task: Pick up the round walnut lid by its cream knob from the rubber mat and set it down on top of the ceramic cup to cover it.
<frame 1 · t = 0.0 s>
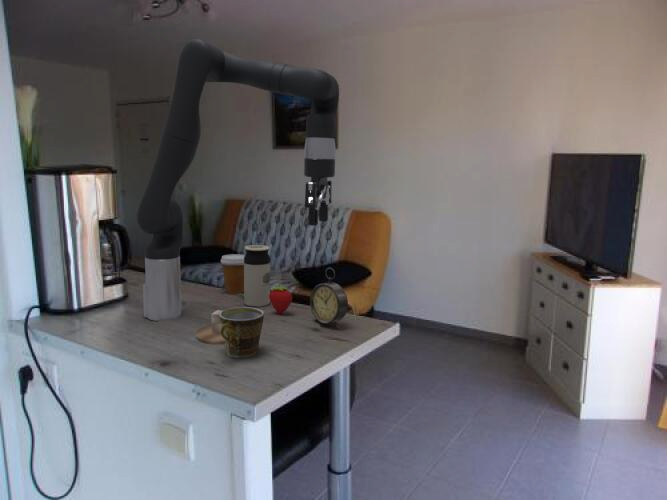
hand: (318, 223, 126), 29 cm above the breakfast bar, tool pointing down, fingers open, 8 cm apart
travel mug: (257, 304, 158), on the breakfast bar
strawberry: (280, 315, 147), on the breakfast bar
disposable coffee cup: (235, 291, 172), on the breakfast bar
ceramic cup: (238, 357, 116), on the breakfast bar
alarm clock: (329, 325, 139), on the breakfast bar
lid: (220, 335, 127), point 1 cm above the breakfast bar, touching mat
mat: (218, 337, 128), on the breakfast bar
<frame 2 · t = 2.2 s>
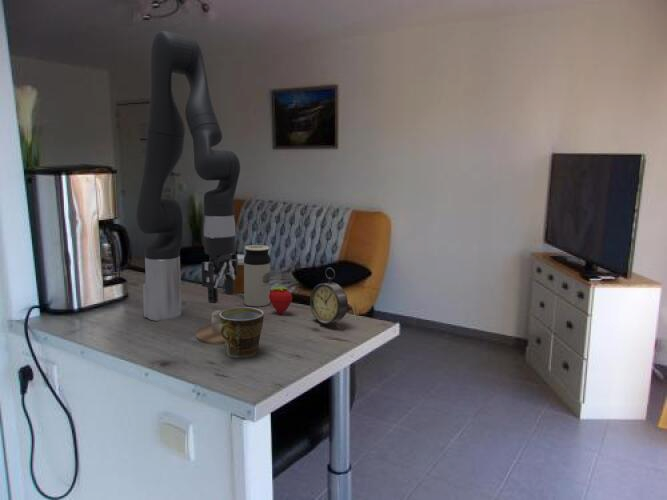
hand: (221, 298, 126), 10 cm above the breakfast bar, tool pointing down, fingers open, 8 cm apart
nothing on the breakfast bar moved.
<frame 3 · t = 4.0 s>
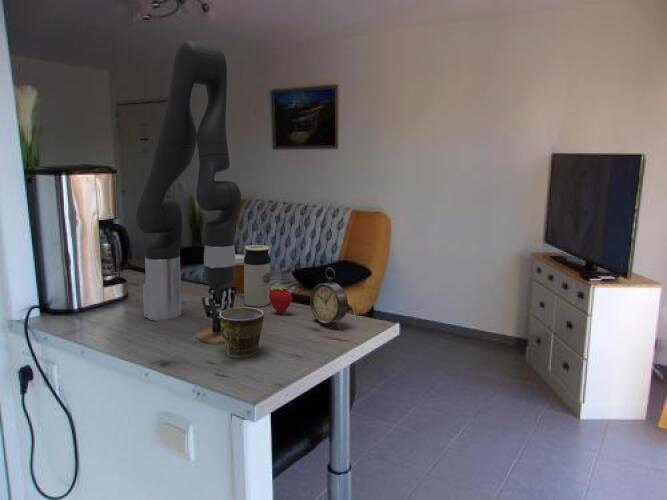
hand: (220, 329, 127), 2 cm above the breakfast bar, tool pointing down, fingers closed on lid, 3 cm apart
lid: (220, 335, 127), point 1 cm above the breakfast bar, touching gripper, mat
everything else where it was.
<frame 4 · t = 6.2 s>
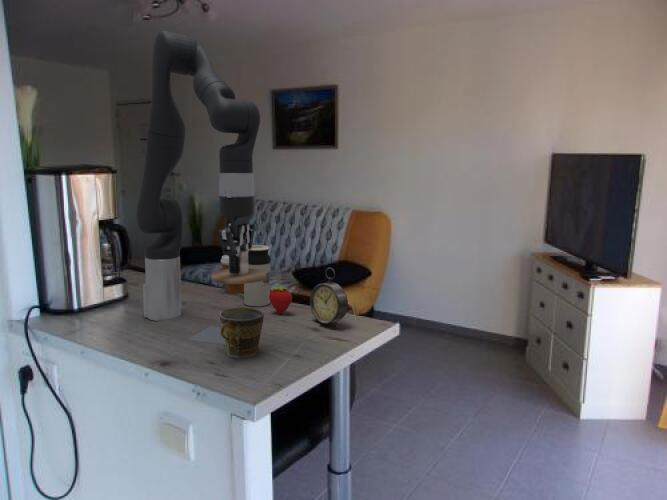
hand: (238, 271, 113), 20 cm above the breakfast bar, tool pointing down, fingers closed on lid, 3 cm apart
lid: (238, 277, 113), point 18 cm above the breakfast bar, touching gripper
everything else where it was.
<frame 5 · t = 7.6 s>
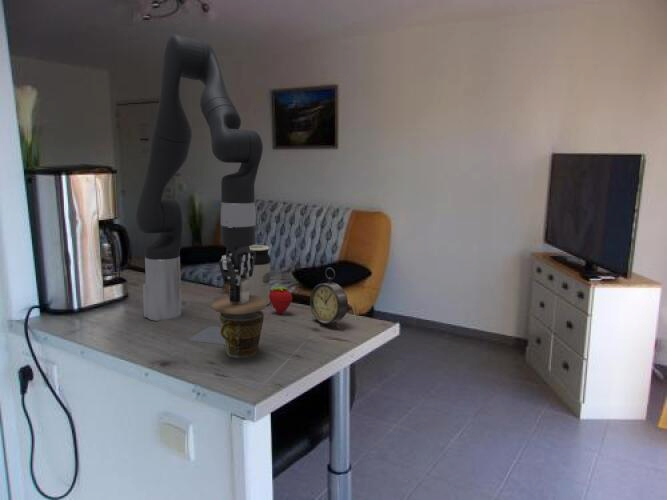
hand: (238, 299, 113), 14 cm above the breakfast bar, tool pointing down, fingers closed on lid, 3 cm apart
lid: (239, 305, 113), point 12 cm above the breakfast bar, touching gripper
everything else where it was.
when the fingers open (13 cm above the breakfast bar, at t = 8.6 s): lid drops 1 cm, resting on ceramic cup.
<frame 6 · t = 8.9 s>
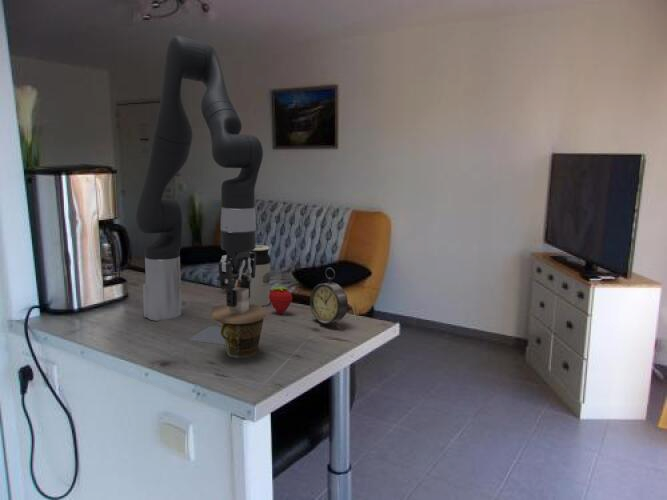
hand: (238, 302, 113), 13 cm above the breakfast bar, tool pointing down, fingers open, 6 cm apart
ceramic cup: (238, 357, 116), on the breakfast bar, touching lid
lid: (239, 315, 114), point 10 cm above the breakfast bar, touching ceramic cup
everything else where it was.
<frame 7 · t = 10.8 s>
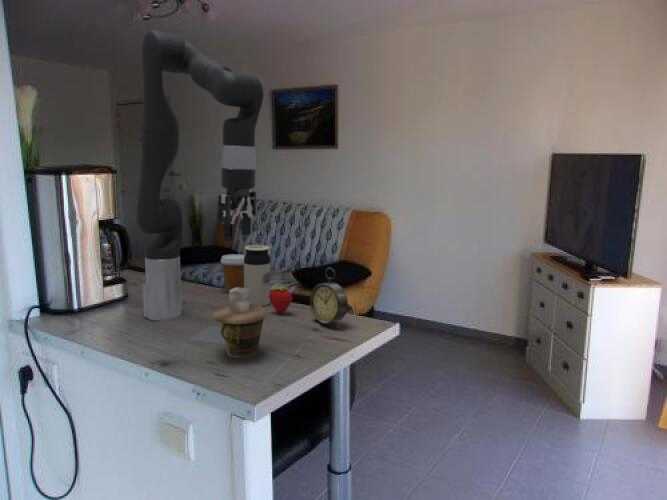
hand: (237, 237, 117), 27 cm above the breakfast bar, tool pointing down, fingers open, 8 cm apart
nothing on the breakfast bar moved.
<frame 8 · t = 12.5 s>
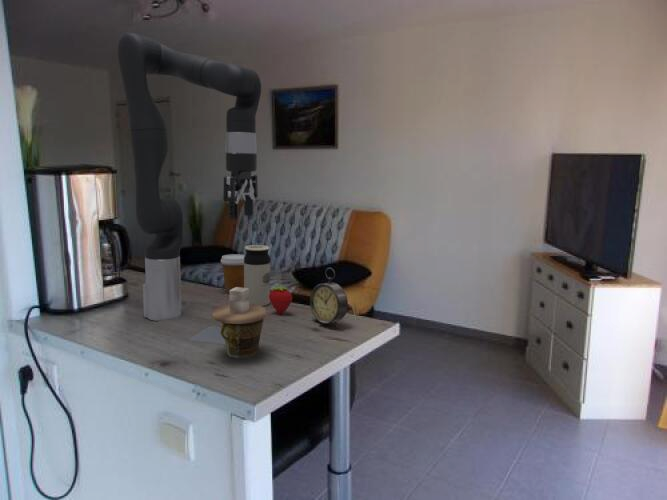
hand: (241, 217, 127), 30 cm above the breakfast bar, tool pointing down, fingers open, 8 cm apart
nothing on the breakfast bar moved.
at the end: lid inside the target area on the ceramic cup (0.3 cm from its centre), point 10.2 cm above the ceramic cup's base; the gripper is holding nothing; ceramic cup tilted 0° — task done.
